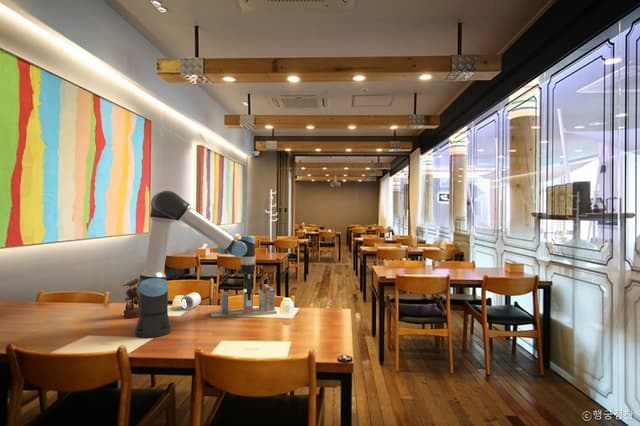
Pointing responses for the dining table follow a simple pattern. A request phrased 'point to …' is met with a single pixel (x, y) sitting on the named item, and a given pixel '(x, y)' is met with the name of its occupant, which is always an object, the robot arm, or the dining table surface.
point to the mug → (192, 300)
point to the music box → (130, 310)
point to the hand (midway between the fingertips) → (247, 303)
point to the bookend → (224, 302)
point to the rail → (264, 308)
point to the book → (245, 308)
